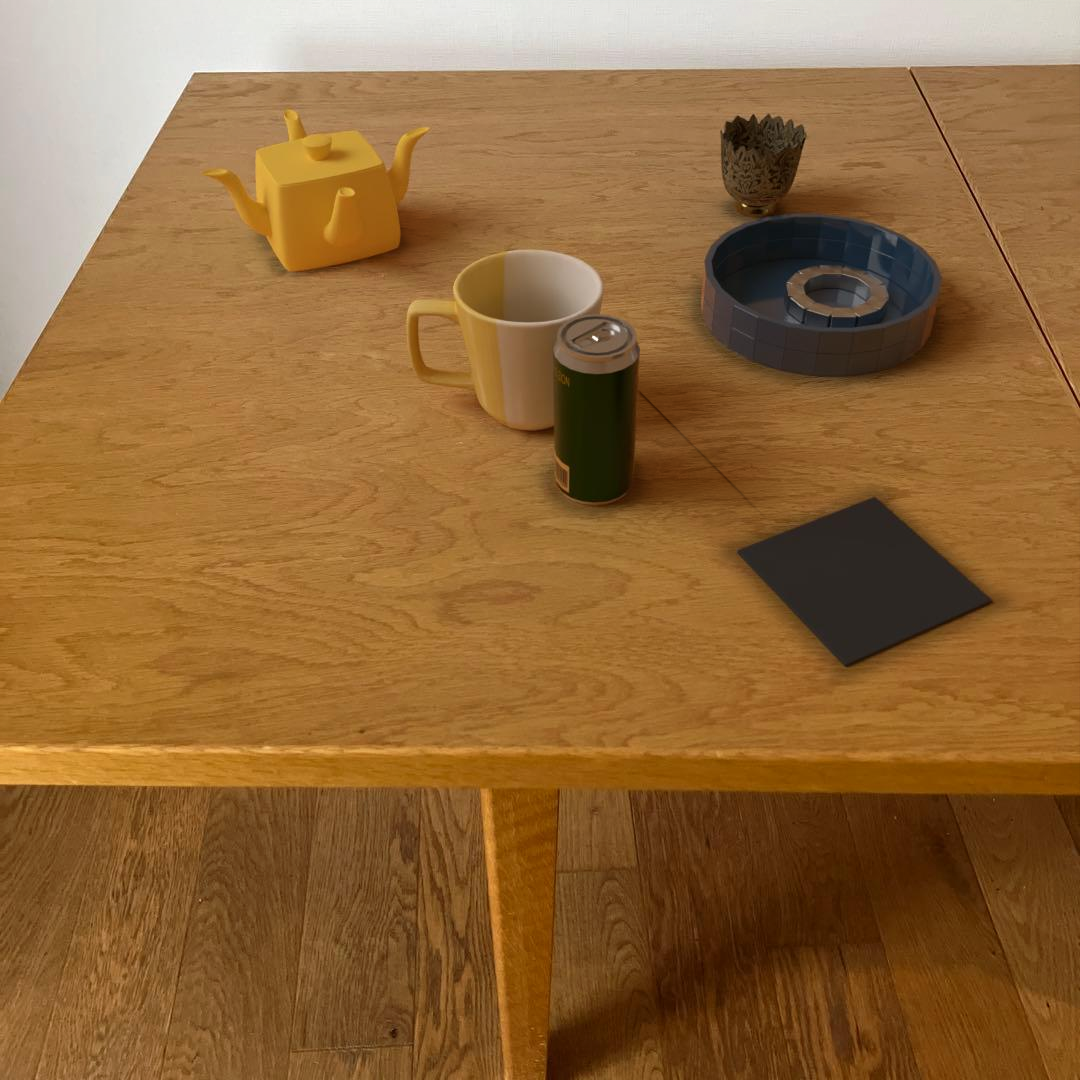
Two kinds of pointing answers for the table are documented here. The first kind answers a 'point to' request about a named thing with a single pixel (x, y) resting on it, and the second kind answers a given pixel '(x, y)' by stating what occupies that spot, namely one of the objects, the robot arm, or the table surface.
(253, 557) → the table surface
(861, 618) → the mat
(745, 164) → the cup
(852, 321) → the ring
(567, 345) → the beer can
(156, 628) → the table surface
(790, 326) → the bowl
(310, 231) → the teapot
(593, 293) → the mug
